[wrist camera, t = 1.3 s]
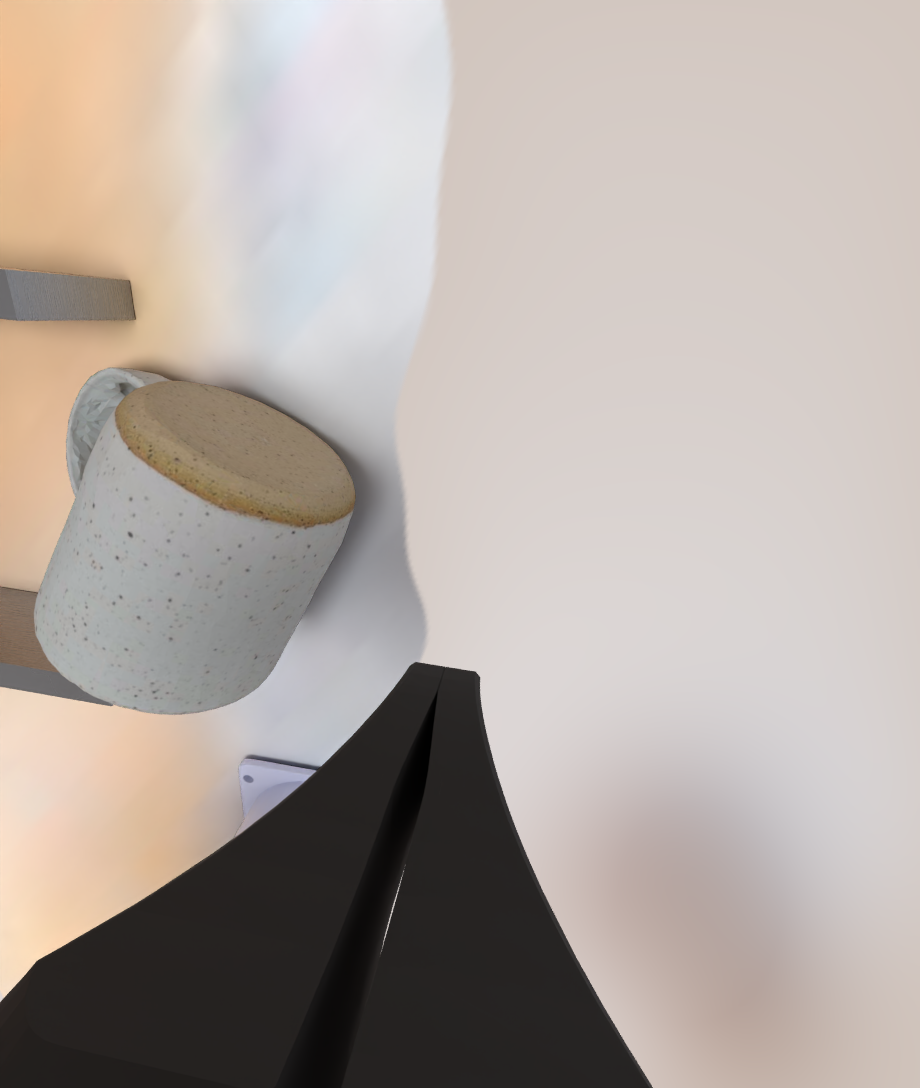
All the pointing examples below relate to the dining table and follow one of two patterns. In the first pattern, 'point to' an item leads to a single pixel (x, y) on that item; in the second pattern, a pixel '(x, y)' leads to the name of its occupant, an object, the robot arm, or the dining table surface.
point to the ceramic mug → (185, 542)
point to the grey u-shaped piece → (7, 614)
